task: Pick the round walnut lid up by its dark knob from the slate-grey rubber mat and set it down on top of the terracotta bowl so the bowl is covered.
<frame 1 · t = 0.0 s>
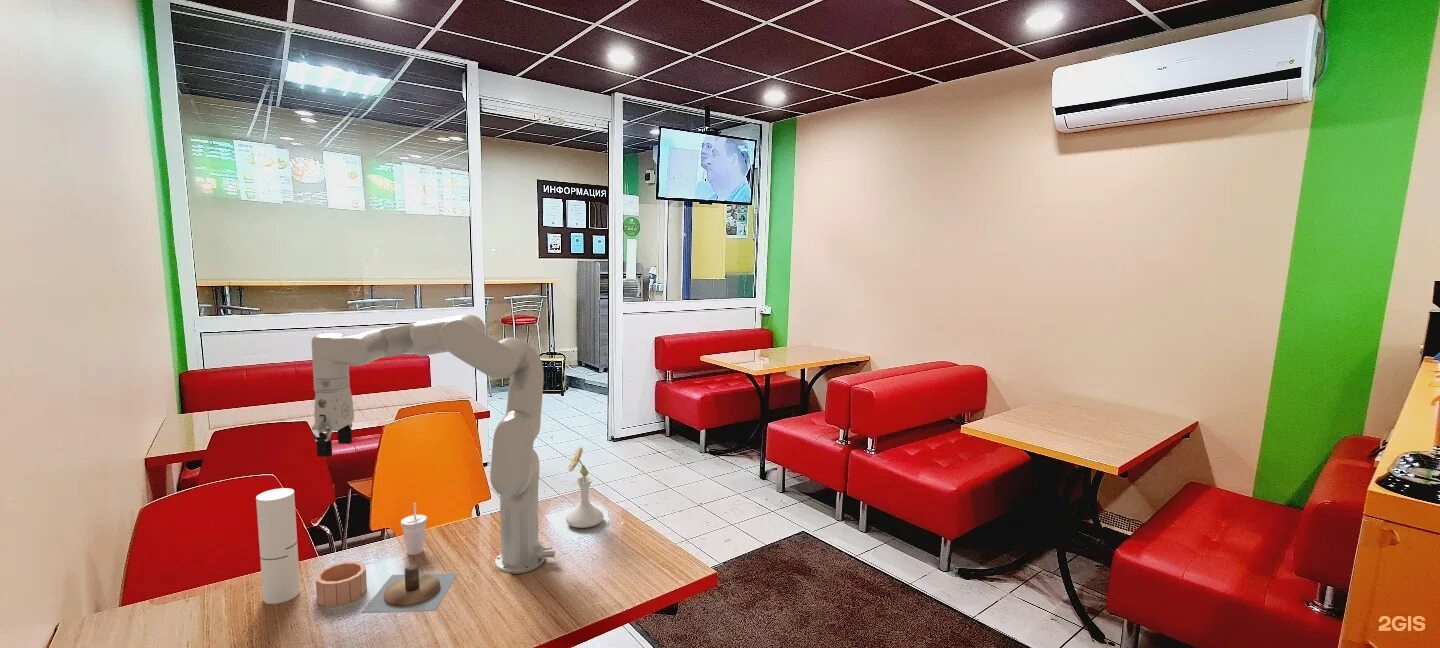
hand: (335, 449, 155), 31 cm above the table, fingers open, 9 cm apart
bowl: (342, 595, 146), on the table
cylindrical container: (282, 596, 145), on the table
lid: (412, 591, 147), point 1 cm above the table, touching mat
flower in vase: (583, 524, 186), on the table
smoothie: (415, 554, 166), on the table
mat: (412, 594, 147), on the table
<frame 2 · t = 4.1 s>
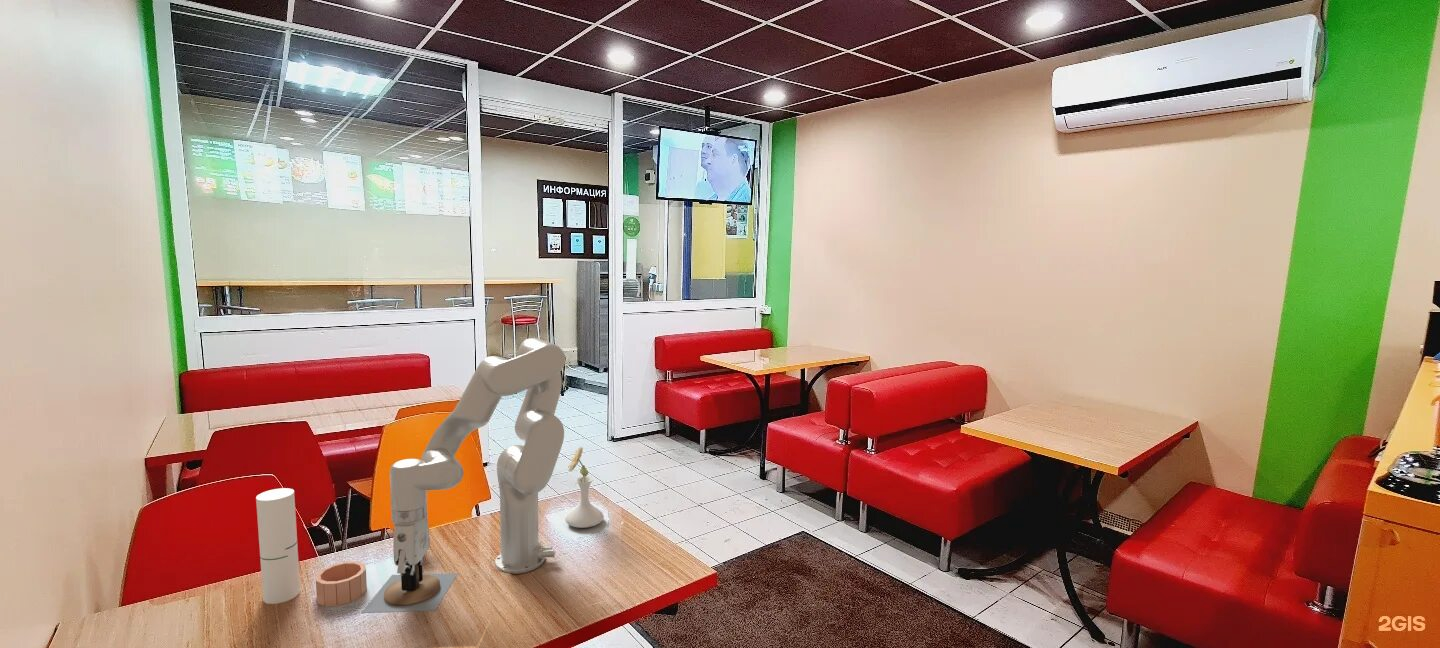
hand: (412, 584, 147), 2 cm above the table, fingers closed on lid, 3 cm apart
lid: (412, 591, 147), point 1 cm above the table, touching gripper, mat
everything else where it was.
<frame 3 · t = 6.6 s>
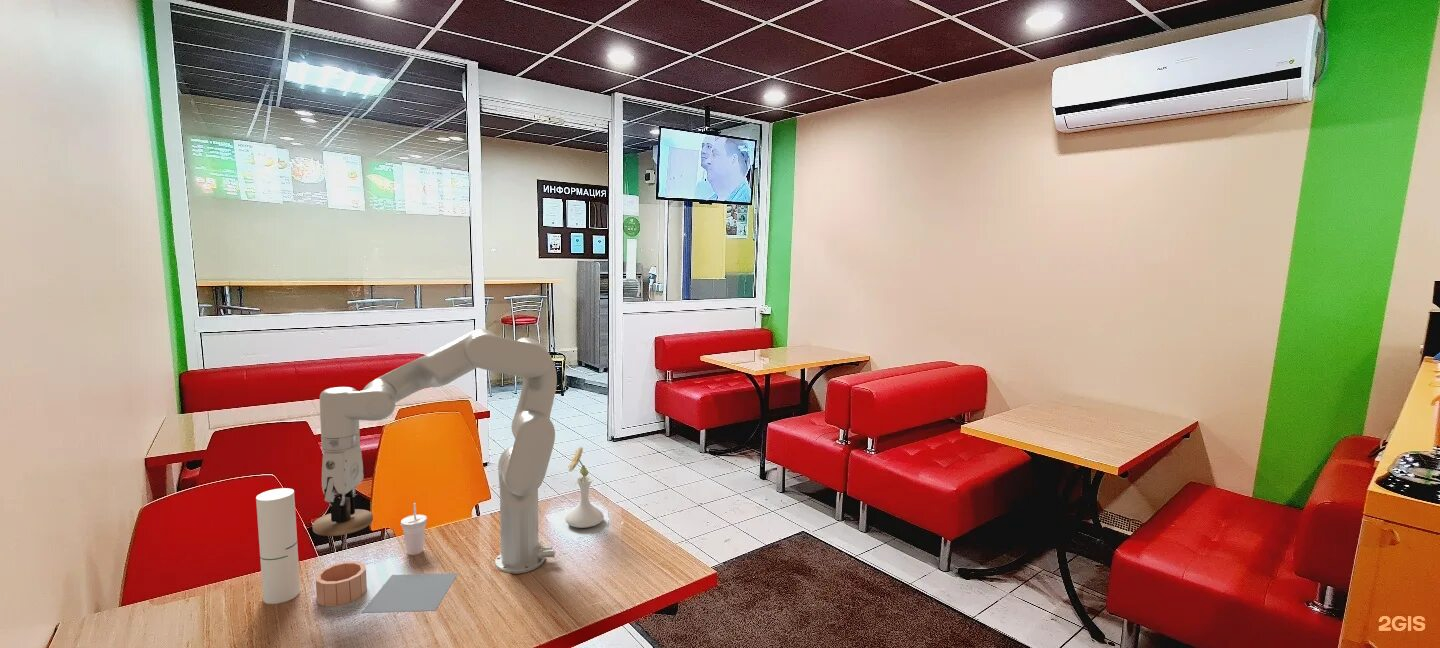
hand: (343, 516, 143), 20 cm above the table, fingers closed on lid, 3 cm apart
lid: (343, 524, 143), point 18 cm above the table, touching gripper
everything else where it was.
when the fingers open (9 cm above the table, at t = 9.3 s): lid drops 1 cm, resting on bowl.
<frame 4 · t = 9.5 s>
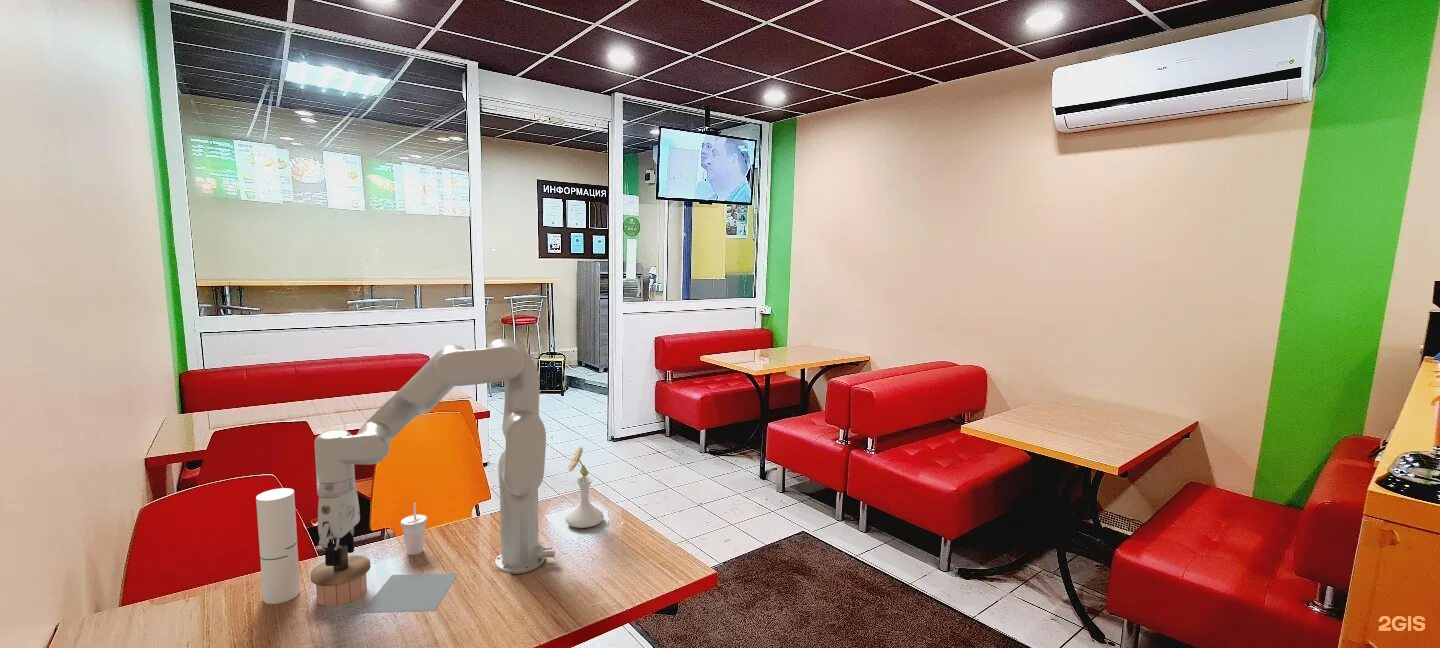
hand: (340, 558, 144), 10 cm above the table, fingers open, 5 cm apart
lid: (341, 572, 145), point 6 cm above the table, touching bowl
everything else where it was.
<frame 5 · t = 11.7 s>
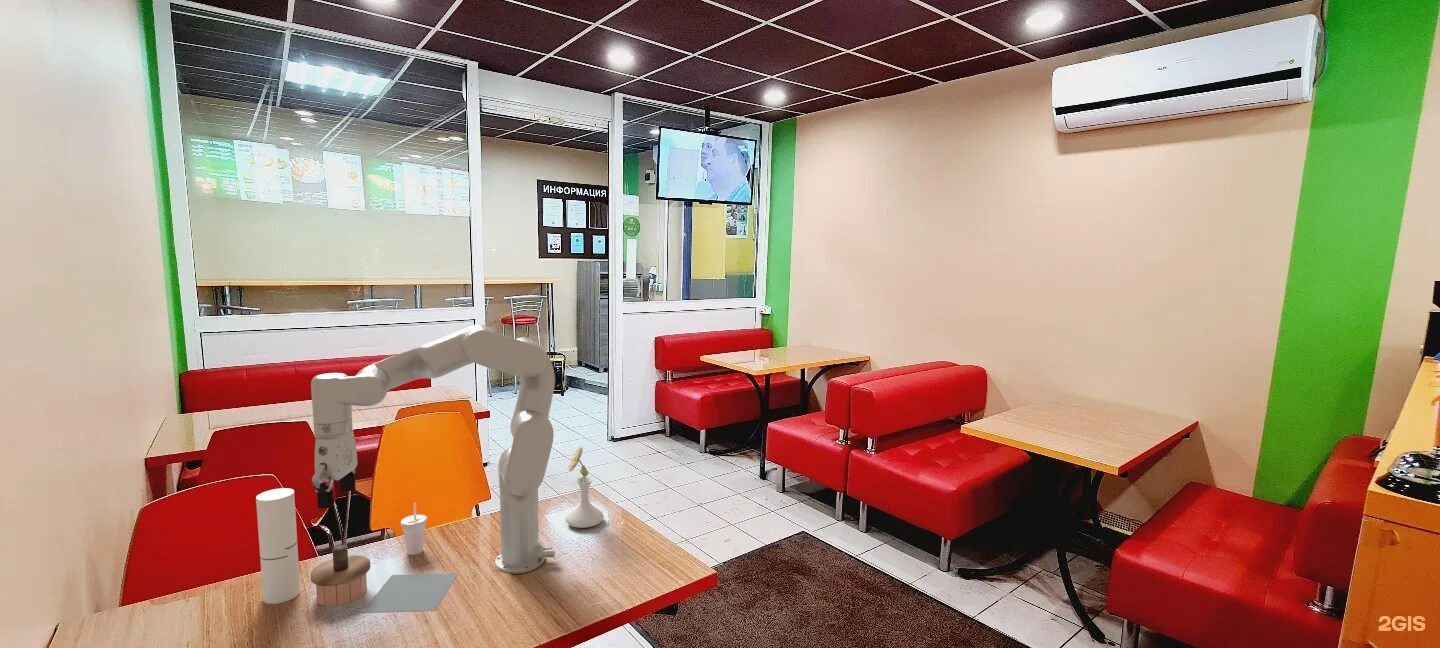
hand: (337, 498, 143), 24 cm above the table, fingers open, 9 cm apart
nothing on the table moved.
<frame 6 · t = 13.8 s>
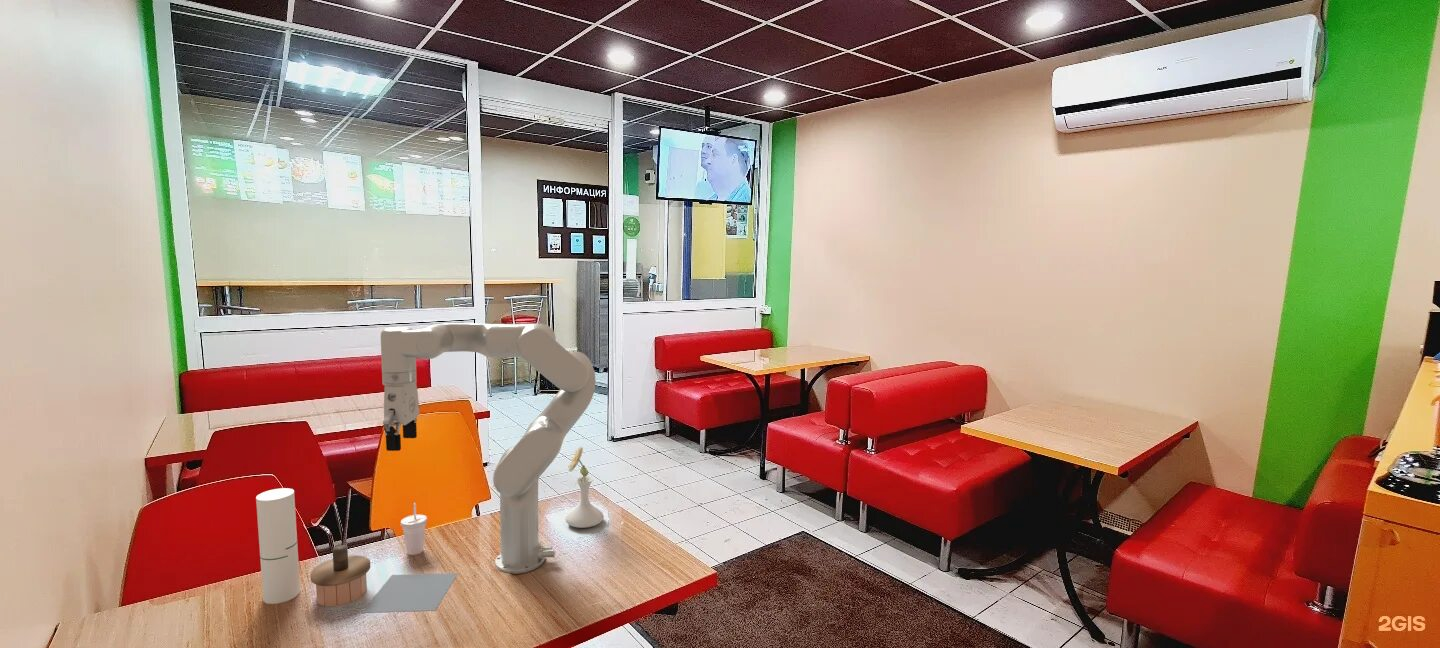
hand: (402, 443, 154), 33 cm above the table, fingers open, 9 cm apart
nothing on the table moved.
at the end: lid 0.0 cm off-centre on the bowl, point 6.0 cm above the bowl's base; lid tilted 0°; the gripper is holding nothing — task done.
